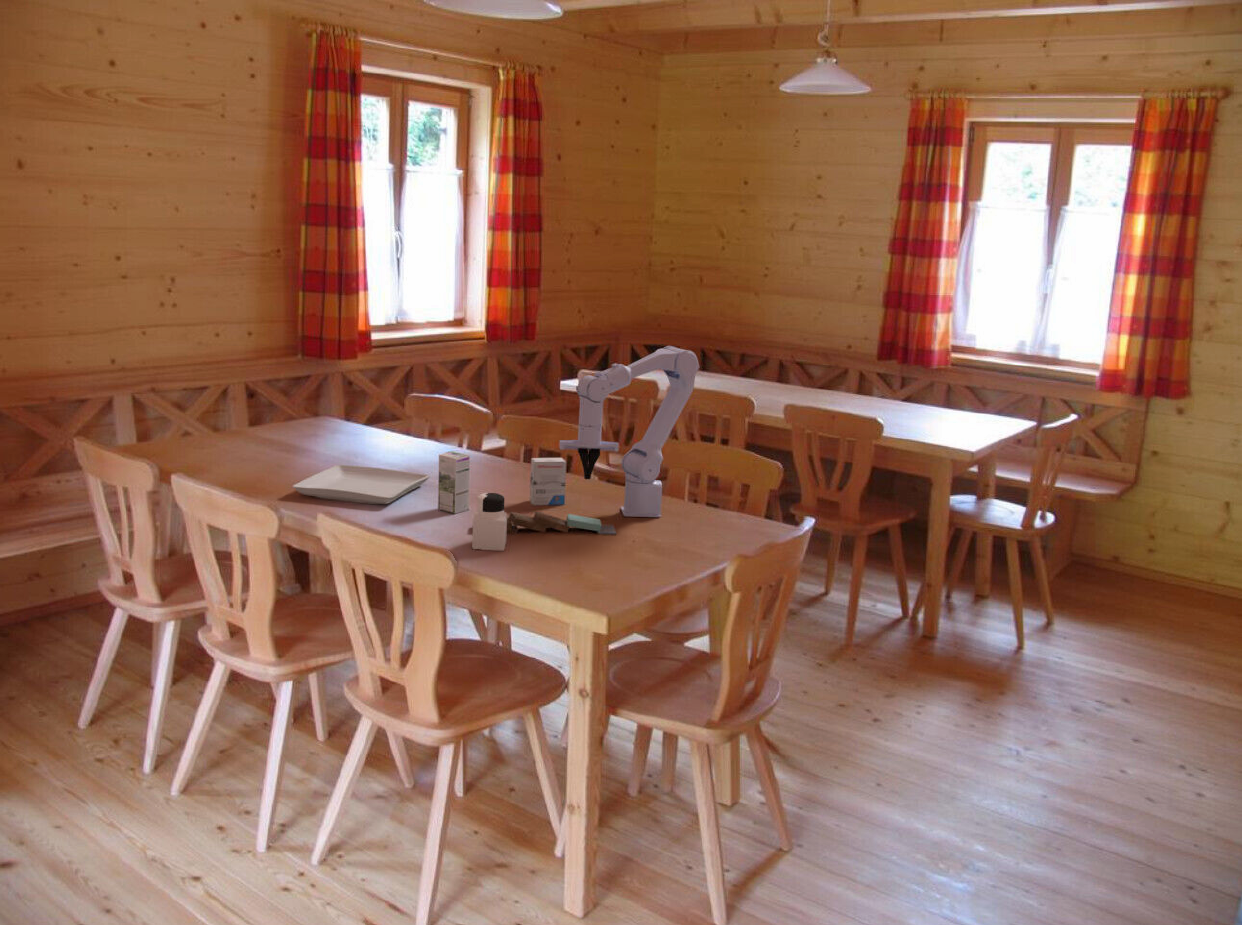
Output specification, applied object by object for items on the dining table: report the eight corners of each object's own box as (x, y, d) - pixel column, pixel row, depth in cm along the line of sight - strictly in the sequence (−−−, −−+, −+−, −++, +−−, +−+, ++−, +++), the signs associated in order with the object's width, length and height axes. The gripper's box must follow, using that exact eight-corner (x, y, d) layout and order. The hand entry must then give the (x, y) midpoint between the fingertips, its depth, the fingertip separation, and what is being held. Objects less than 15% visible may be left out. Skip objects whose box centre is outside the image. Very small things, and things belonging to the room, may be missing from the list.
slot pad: (612, 526, 269) (613, 524, 269) (616, 534, 262) (616, 533, 262) (595, 526, 269) (595, 524, 268) (597, 534, 262) (598, 532, 262)
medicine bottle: (506, 541, 252) (508, 491, 249) (504, 551, 245) (505, 499, 242) (475, 540, 252) (476, 490, 249) (472, 549, 245) (473, 498, 242)
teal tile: (599, 519, 267) (567, 513, 266) (601, 525, 262) (568, 519, 261) (598, 525, 268) (566, 520, 266) (600, 531, 263) (567, 525, 262)
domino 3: (540, 519, 265) (510, 511, 262) (547, 526, 261) (516, 518, 257) (538, 525, 266) (508, 517, 262) (544, 532, 261) (514, 524, 258)
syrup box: (469, 509, 276) (471, 453, 273) (454, 514, 271) (455, 457, 268) (452, 505, 279) (453, 450, 276) (436, 510, 274) (438, 453, 271)
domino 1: (510, 517, 263) (477, 516, 262) (511, 523, 259) (477, 523, 257) (510, 523, 264) (477, 523, 262) (511, 529, 259) (477, 529, 258)
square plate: (391, 511, 272) (391, 496, 271) (289, 499, 277) (289, 484, 276) (431, 486, 298) (431, 472, 297) (337, 476, 303) (337, 462, 302)
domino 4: (566, 520, 266) (536, 510, 264) (569, 526, 262) (538, 516, 260) (564, 526, 267) (533, 517, 265) (567, 532, 262) (535, 522, 260)
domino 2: (516, 522, 264) (482, 523, 263) (518, 529, 260) (484, 529, 258) (515, 529, 265) (482, 529, 263) (517, 535, 260) (483, 535, 258)
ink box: (560, 500, 290) (562, 457, 288) (564, 505, 286) (567, 461, 283) (528, 500, 288) (530, 457, 286) (532, 505, 283) (534, 461, 281)
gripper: (617, 422, 274) (614, 475, 277) (559, 420, 272) (557, 473, 275) (621, 428, 267) (617, 482, 270) (561, 426, 265) (558, 480, 268)
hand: (587, 478), depth 272 cm, fingers closed
